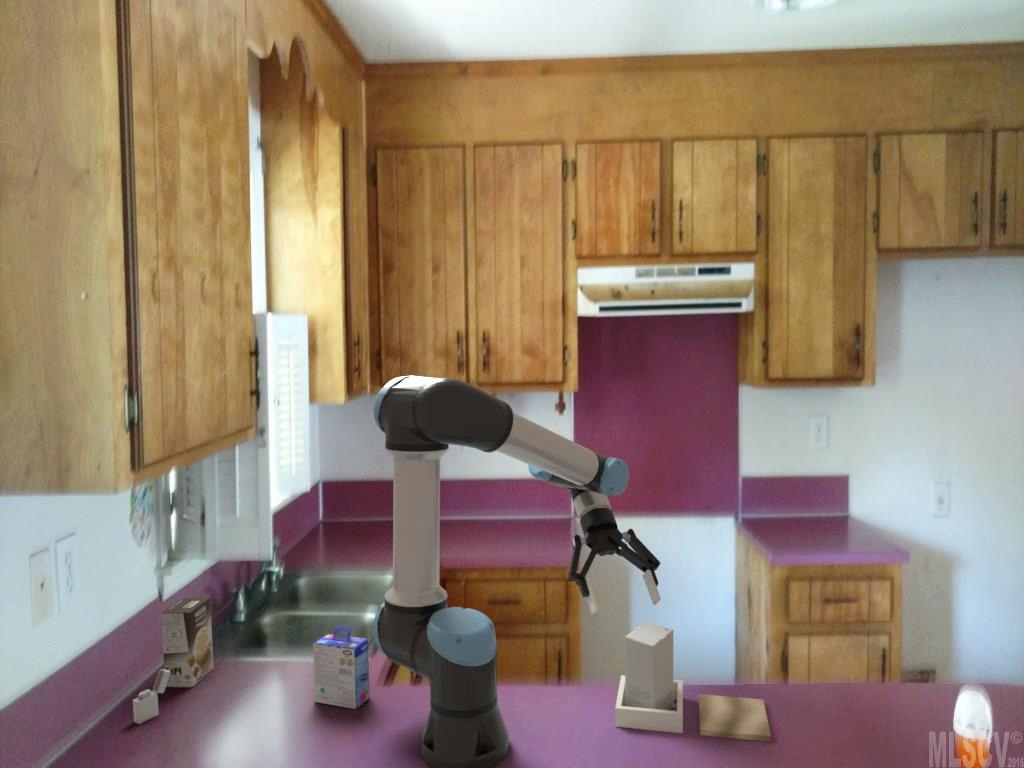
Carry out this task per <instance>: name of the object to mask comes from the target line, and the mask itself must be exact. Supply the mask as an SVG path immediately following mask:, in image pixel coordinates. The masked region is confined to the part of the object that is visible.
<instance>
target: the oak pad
mask: <svg viewBox="0 0 1024 768" xmlns="http://www.w3.org/2000/svg"><path fill="white" fill-rule="evenodd" d="M698 711H699V713H698V714H699V719H698V720H699V735H700V736H709V737H718V738H727V739H736V740H749V741H757V742H758V741H760V742H767V743H770V742H772V734H771V729H770V726H769V725H770V724H769V721H768V716H767V715H768V714H767V711H766V707H765V701H764V699H762V698H751V697H750V698H749V697H738V696H727V695H715V694H704V693H703V694H701V693H698Z"/></svg>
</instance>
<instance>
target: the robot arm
mask: <svg viewBox="0 0 1024 768" xmlns="http://www.w3.org/2000/svg"><path fill="white" fill-rule="evenodd" d="M373 417H374V418H373V419H374V421H375V424H376V425H377V428H379V430H380V431H381V432H382V433H383V434H385V435H384V437H385V440H384V441H385V444H384V447H385V448H384V449H385V451H386V452H387V453H388V454H389V455H390V456H391V457H392V459H393V485H392V486H393V488H392V489H393V494H392V496H393V498H392V499H393V501H392V502H393V503H392V504H393V507H392V509H393V510H392V513H393V515H392V516H393V517H392V519H393V521H392V524H393V525H392V526H393V528H392V533H393V534H392V586H391V587H390V588H389V589H388V590H387V591H386V592H385V594H384V601H383V602H382V603H381V604H380V606H379V610H378V611H377V612H376V613H375V616H374V619H373V623H372V636H373V639H374V642H375V645H376V648H377V649H378V650H379V651H380V653H382V654H383V655H384V656H385V657H386V658H387V659H389V661H391V662H392V663H394V664H395V665H399V666H401V667H403V668H405V669H407V670H408V671H411V673H415V674H416V675H418V676H420V677H422V678H424V679H426V680H427V681H428V682H429V697H430V699H429V700H430V702H429V703H430V709H429V712H428V716H427V720H426V722H425V726H424V729H423V732H422V733H423V734H422V736H421V755H422V759H423V760H424V761H425V762H426V763H427V765H429V766H430V767H432V768H492V767H494V766H496V765H498V764H499V763H500V762H501V761H502V760H504V759H505V757H506V756H507V754H508V752H509V732H508V729H507V727H506V723H505V719H504V717H503V715H502V713H501V710H500V707H499V704H498V658H497V657H498V653H497V651H498V648H497V647H498V641H497V637H496V630H495V626H494V623H493V621H492V620H491V619H490V618H489V617H488V615H486V614H484V613H483V612H481V611H479V610H477V609H474V608H469V607H466V608H463V607H462V606H453V607H452V606H451V607H448V592H447V591H446V590H445V589H444V588H443V587H442V586H441V585H440V550H441V549H440V546H441V545H440V543H441V542H440V541H441V539H440V538H441V537H440V534H441V533H440V532H441V531H440V528H441V527H440V525H441V524H440V523H441V521H440V520H441V518H440V515H441V458H442V457H443V456H444V455H445V454H446V453H447V452H448V451H449V446H450V445H454V446H461V447H468V448H472V449H476V450H479V451H481V452H483V453H487V454H491V453H494V452H499V453H501V454H504V455H505V456H508V457H510V458H513V459H515V460H517V461H520V462H523V463H524V464H527V467H528V471H529V473H530V475H531V476H532V477H534V478H535V479H538V481H539V480H540V482H545V483H547V484H550V485H553V486H556V487H559V488H561V489H563V490H566V491H568V492H569V493H570V496H571V499H572V502H573V505H574V509H575V512H576V515H577V517H578V519H579V524H580V527H581V530H582V533H583V535H584V536H580V535H579V534H575V535H574V537H573V538H572V541H571V545H572V555H571V558H570V559H571V560H570V565H569V570H568V575H567V581H568V582H570V583H572V582H574V583H575V584H576V585H577V586H578V587H579V590H580V594H581V597H583V598H586V599H587V602H588V606H589V609H590V612H591V615H593V614H594V615H596V613H597V612H598V611H599V609H600V605H599V602H598V599H597V596H596V593H595V591H594V588H593V584H592V581H591V579H590V577H586V576H587V574H588V572H589V570H590V568H591V566H592V564H593V561H594V559H595V557H596V556H597V555H598V556H600V557H605V556H607V555H608V556H613V555H615V554H616V555H617V556H618V557H622V558H624V559H625V560H626V561H627V562H629V563H630V564H632V565H633V566H634V567H636V569H639V570H640V571H641V572H643V574H642V578H643V581H644V583H645V586H646V589H647V593H648V594H649V597H650V600H651V603H652V605H653V606H655V605H657V604H658V603H659V602H660V600H661V598H662V597H661V595H660V593H659V590H658V585H659V580H658V578H657V575H656V572H655V571H657V569H658V568H659V567H660V565H661V562H660V560H659V559H658V558H657V557H656V556H655V555H654V554H653V553H652V552H651V550H649V549H648V548H647V546H645V544H644V543H643V542H642V541H641V540H640V539H639V538H638V537H637V534H636V533H635V530H634V529H632V528H629V529H628V530H627V531H624V532H621V531H620V530H619V527H618V523H617V521H616V516H614V512H613V510H612V506H611V504H610V501H609V498H608V495H609V496H618V495H621V494H623V493H624V491H625V490H626V489H627V487H628V484H629V480H630V470H629V469H630V468H629V466H628V465H627V463H626V462H625V461H624V460H623V459H620V458H615V457H613V456H610V457H609V456H605V455H602V454H600V453H598V452H596V451H593V450H591V449H589V448H587V447H585V446H583V445H581V444H579V443H576V442H574V441H573V440H570V439H568V438H566V437H565V436H563V435H561V434H559V433H557V432H555V431H552V430H550V429H548V428H547V427H544V426H542V425H540V424H538V423H536V422H534V421H532V420H530V419H528V418H526V417H523V416H521V415H520V414H517V413H515V412H514V410H513V408H512V406H511V405H510V404H509V403H507V402H506V401H504V400H502V399H500V398H497V397H496V396H494V395H492V394H489V393H488V392H486V391H485V390H483V389H480V388H478V387H476V386H474V385H472V384H470V383H467V382H466V381H462V380H460V379H457V378H452V377H435V376H421V375H415V374H412V375H405V376H399V377H398V376H397V377H395V378H393V379H391V380H389V381H388V382H387V383H386V384H385V385H384V386H383V387H381V389H380V391H379V392H378V394H377V395H376V398H375V400H374V404H373ZM623 540H624V541H623ZM584 545H585V546H587V547H588V548H589V549H590V552H589V554H588V556H587V558H586V560H585V562H584V564H583V566H582V568H581V570H580V573H579V572H578V567H579V562H580V558H581V557H580V556H581V551H582V548H583V546H584ZM628 545H629V546H628Z"/></svg>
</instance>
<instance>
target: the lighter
mask: <svg viewBox="0 0 1024 768" xmlns="http://www.w3.org/2000/svg"><path fill="white" fill-rule="evenodd" d="M158 670H159V671H158V673H157V676H156V679H155V682H154V685H153V688H152V690H151V689H144V690H142V691H140V692H139V694H138V695H137V697H136V698H134V699H132V708H133V709H132V711H133V722H134V723H135V724H138V725H141V724H143V723H144V722H147V721H149V720H151V719H153V718H155V717H157V716H159V714H160V713H159V711H160V710H159V697H158V694H165V693H164V692H165V691H166V688H167V687H166V685H167V682H168V679H169V676H170V671H169V670H166V669H164V668H160V669H158Z"/></svg>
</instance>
